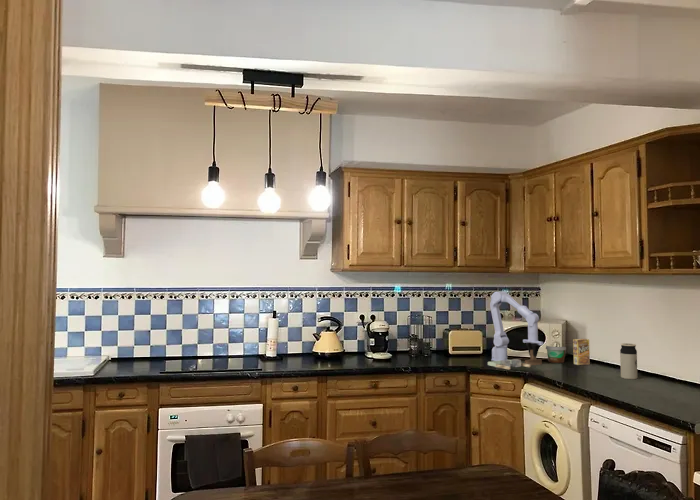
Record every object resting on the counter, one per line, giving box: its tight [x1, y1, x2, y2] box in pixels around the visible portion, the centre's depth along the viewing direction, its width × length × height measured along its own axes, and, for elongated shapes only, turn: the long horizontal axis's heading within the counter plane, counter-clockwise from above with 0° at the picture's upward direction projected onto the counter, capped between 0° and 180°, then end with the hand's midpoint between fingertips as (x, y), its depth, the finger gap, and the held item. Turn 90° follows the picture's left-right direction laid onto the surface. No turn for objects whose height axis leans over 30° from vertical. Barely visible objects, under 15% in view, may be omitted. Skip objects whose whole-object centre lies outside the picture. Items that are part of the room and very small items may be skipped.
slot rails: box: [495, 362, 531, 370], centre depth 335 cm, size 11×17×2 cm, turn 118°
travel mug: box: [619, 342, 638, 380], centre depth 300 cm, size 8×8×18 cm
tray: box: [487, 359, 512, 368], centre depth 343 cm, size 7×17×2 cm, turn 118°
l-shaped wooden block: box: [524, 350, 543, 367], centre depth 342 cm, size 2×12×9 cm, turn 118°
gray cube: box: [510, 358, 522, 368], centre depth 337 cm, size 4×4×4 cm
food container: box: [545, 345, 567, 364], centre depth 351 cm, size 12×6×10 cm, turn 62°
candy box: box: [572, 338, 591, 366], centre depth 343 cm, size 9×4×15 cm, turn 108°
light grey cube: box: [500, 359, 512, 368], centre depth 335 cm, size 4×4×4 cm
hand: (533, 355), depth 342 cm, fingers closed on l-shaped wooden block, 2 cm apart
